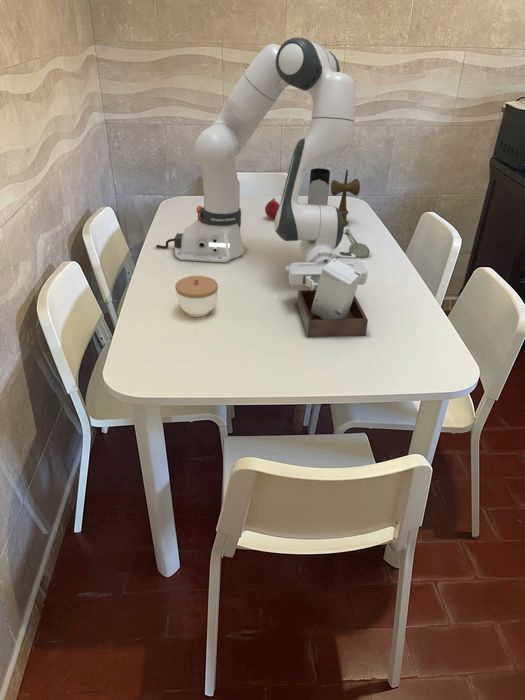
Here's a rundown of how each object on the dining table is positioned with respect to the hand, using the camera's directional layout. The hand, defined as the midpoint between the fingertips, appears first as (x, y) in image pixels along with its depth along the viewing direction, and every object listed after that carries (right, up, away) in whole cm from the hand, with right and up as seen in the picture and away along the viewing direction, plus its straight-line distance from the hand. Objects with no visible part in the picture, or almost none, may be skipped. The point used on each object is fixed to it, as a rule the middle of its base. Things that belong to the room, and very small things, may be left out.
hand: (332, 287), depth 131 cm
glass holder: (+5, +42, +83) cm, 93 cm away
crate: (0, -8, +6) cm, 10 cm away
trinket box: (-34, -6, +8) cm, 36 cm away
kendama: (+12, +31, +67) cm, 74 cm away
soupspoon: (+14, +20, +50) cm, 56 cm away
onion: (-14, +34, +69) cm, 78 cm away
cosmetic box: (0, -7, +5) cm, 8 cm away
